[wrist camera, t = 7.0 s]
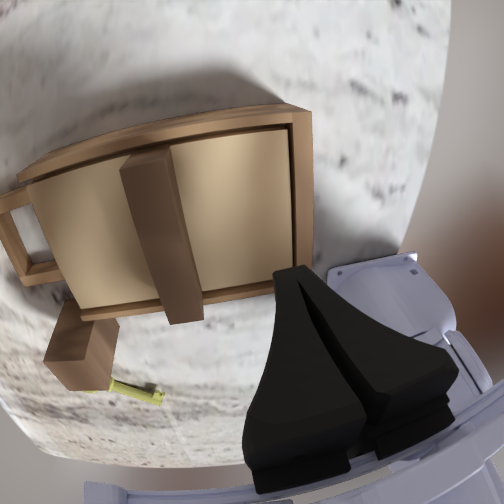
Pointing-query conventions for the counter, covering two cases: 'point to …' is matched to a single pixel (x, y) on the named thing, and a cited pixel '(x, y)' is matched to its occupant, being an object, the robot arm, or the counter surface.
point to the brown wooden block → (82, 350)
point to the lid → (171, 220)
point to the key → (135, 392)
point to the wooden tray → (163, 133)
